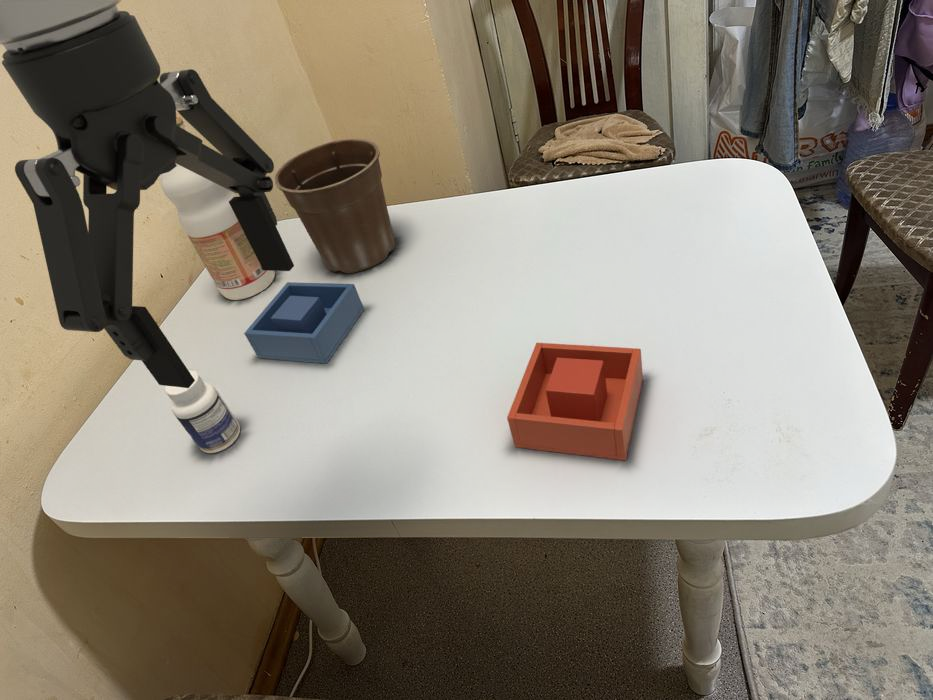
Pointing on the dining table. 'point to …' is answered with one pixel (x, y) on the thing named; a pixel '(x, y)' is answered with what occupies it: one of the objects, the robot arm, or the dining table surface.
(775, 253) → the dining table surface
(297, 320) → the blue block
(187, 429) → the pill bottle
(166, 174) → the fruit juice
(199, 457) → the dining table surface
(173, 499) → the dining table surface
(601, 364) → the red block
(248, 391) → the dining table surface
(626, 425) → the red bin
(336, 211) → the plant pot
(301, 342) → the blue bin
